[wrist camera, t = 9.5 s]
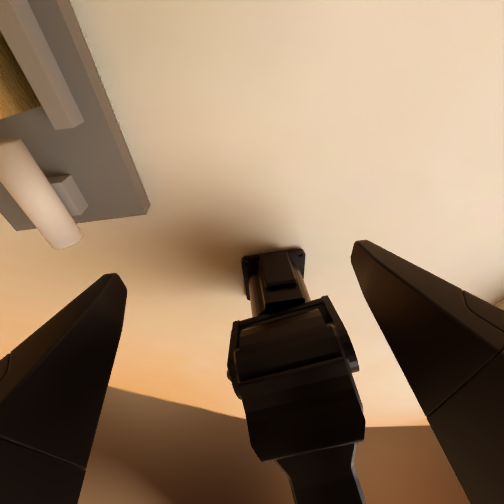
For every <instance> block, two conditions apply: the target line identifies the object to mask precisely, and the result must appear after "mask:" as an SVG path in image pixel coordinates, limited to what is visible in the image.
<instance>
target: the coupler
mask: <svg viewBox="0 0 504 504" xmlns="http://www.w3.org/2000/svg"><path fill="white" fill-rule="evenodd" d="M40 106H42V105H41V103H40V101H39V100H38V98H37V96H36V94H35V92H34V91H33V89H32V87H31V85H30V83H29V81H28V80H27V78H26V76H25V74H24V72H23V71H22V69H21V67H20V65H19V63H18V62H17V60H16V58H15V56H14V54H13V53H12V51H11V49H10V47H9V45H8V44H7V42H6V40H5V38H4V36H3V35H2V33H1V31H0V119H3V118H6V117H9V116H12V115H15V114H18V113H21V112H24V111H27V110H30V109H34V108H37V107H40Z"/></svg>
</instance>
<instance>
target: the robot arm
mask: <svg viewBox="0 0 504 504" xmlns="http://www.w3.org/2000/svg"><path fill="white" fill-rule="evenodd" d="M300 253H301V254H300ZM298 254H300V255H298ZM245 261H247V262H245ZM241 263H242V270H243V276H244V283H245V289H246V296H247V299H248V300H250V301H251V309H252V318H249V319H245V320H242V321H239V320H238V321H234V322H233V327H232V331H231V338H230V346H229V354H228V362H227V367H228V370H227V377H228V379H229V380H230V381H231V382H232V386H233V389H234V391H235V393H236V395H237V397H238V398H239V399H240V400H242V402H243V406H244V410H245V414H246V419H247V425H248V431H249V437H250V443H251V446H252V448H253V450H254V451H255V453H256V454H257V456H258V457H259V459H260V460H261V461H262V462H266V461H271V460H274V461H275V463H276V464H277V465H278V466H279V467H280V468H281V470H282V471H283V472H284V473H285V474H286V475H287V477H288V479H289V483H290V486H291V490H292V494H293V498H294V503H295V504H366V501H365V498H364V495H363V492H362V488H361V485H360V482H359V479H358V476H357V473H356V470H355V467H354V459H355V454H356V449H357V443H358V442H362V441H363V440H364V433H365V418H364V415H363V406H362V403H361V400H360V397H359V394H358V391H357V388H356V385H355V382H354V379H353V376H352V373H353V372H357V371H359V365H358V361H357V357H356V354H355V351H354V348H353V345H352V343H351V340H350V338H349V335H348V333H347V331H346V329H345V327H344V325H343V323H342V321H341V319H340V317H339V316H338V314H337V312H336V310H335V308H334V306H333V305H332V303H331V301H330V299H329V297H328V295H326V296H323V297H321V298H319V299H316V300H312V301H311V300H310V297H309V294H308V291H307V289H306V286H305V283H304V280H303V279H304V265H305V252H304V250H302V249H296V250H289V251H281V252H274V253H266V254H259V255H251V256H245V257H243V258H242V259H241ZM351 263H352V266H353V269H354V271H355V274H356V277H357V279H358V282H359V285H360V287H361V290H362V293H363V295H364V297H365V299H366V301H367V303H368V305H369V307H370V309H371V311H372V313H373V315H374V317H375V319H376V321H377V323H378V325H379V327H380V329H381V330H382V332H383V334H384V336H385V338H386V340H387V342H388V344H389V346H390V348H391V350H392V352H393V354H394V356H395V358H396V360H397V361H398V363H399V365H400V367H401V369H402V371H403V373H404V375H405V377H406V379H407V381H408V383H409V385H410V387H411V389H412V390H413V392H414V394H415V396H416V398H417V400H418V402H419V404H420V406H421V408H422V410H423V412H424V414H425V416H426V417H427V420H428V422H429V424H430V426H431V428H432V430H433V431H434V433H435V435H436V437H437V439H438V441H439V443H440V445H441V447H442V449H443V451H444V453H445V455H446V456H447V459H448V460H449V462H450V464H451V466H452V468H453V470H454V472H455V474H456V476H457V478H458V480H459V482H460V484H461V486H462V488H463V490H464V491H465V493H466V495H467V497H468V499H469V501H470V503H471V504H504V310H502V309H500V308H498V307H496V306H494V305H492V304H490V303H488V302H486V301H484V300H482V299H480V298H478V297H476V296H474V295H472V294H470V293H468V292H466V291H464V290H463V291H462V289H460V288H459V287H457V286H455V285H453V284H451V283H449V282H447V281H445V280H443V279H441V278H439V277H437V276H435V275H434V274H432V273H430V272H428V271H426V270H424V269H422V268H420V267H418V266H416V265H414V264H412V263H410V262H408V261H407V260H405V259H403V258H401V257H399V256H397V255H395V254H393V253H391V252H389V251H387V250H385V249H383V248H382V247H380V246H378V245H376V244H374V243H372V242H370V241H368V240H360V241H356V242H355V243H354V246H353V250H352V254H351ZM126 298H127V288H126V286H125V285H124V283H123V281H122V280H121V278H120V277H119V275H118V274H117V273H110V274H105V275H103V276H102V277H101V278H99V279H98V280H97V281H96V282H95V283H93V284H92V285H91V286H90V287H88V288H87V289H86V290H85V291H84V292H82V293H81V294H80V295H79V296H78V297H76V298H75V299H74V300H73V301H72V302H70V303H69V304H68V305H67V306H65V307H64V308H63V309H62V310H61V311H59V312H58V313H57V314H56V315H55V316H53V317H52V318H51V319H50V320H49V321H47V322H46V323H45V324H44V325H42V326H41V327H40V328H39V329H38V330H36V331H35V332H34V333H33V334H32V335H30V336H29V337H28V338H27V339H26V340H24V341H23V342H22V343H21V344H19V345H18V346H17V347H16V348H15V349H13V350H12V351H11V353H10V354H7V355H6V356H5V357H4V358H3V359H1V360H0V504H77V503H78V499H79V496H80V491H81V488H82V484H83V480H84V476H85V472H86V467H87V463H88V460H89V456H90V452H91V448H92V445H93V441H94V437H95V433H96V429H97V425H98V421H99V418H100V414H101V410H102V406H103V402H104V398H105V394H106V390H107V387H108V383H109V379H110V375H111V371H112V367H113V363H114V360H115V356H116V352H117V348H118V344H119V340H120V336H121V332H122V327H123V320H124V313H125V306H126Z"/></svg>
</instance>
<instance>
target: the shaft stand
mask: <svg viewBox="0 0 504 504" xmlns="http://www.w3.org/2000/svg"><path fill="white" fill-rule="evenodd" d="M0 31H1V33H2V35H3V36H4V38H5V40H6V42H7V44H8V45H9V47H10V49H11V51H12V53H13V54H14V56H15V58H16V60H17V62H18V63H19V65H20V67H21V69H22V71H23V72H24V74H25V76H26V78H27V80H28V81H29V83H30V85H31V87H32V89H33V91H34V92H35V94H36V96H37V98H38V100H39V101H40V103H41V105H42V106H40V107H37V108H34V109H30V110H27V111H24V112H21V113H18V114H15V115H12V116H9V117H6V118H3V119H0V213H1V214H2V215H3V216H4V217H5V218H6V220H7V221H8V222H9V223H10V224H11V225H12V227H13V228H14V229H15V230H16V231H19V230H27V229H35V228H37V229H38V230H39V232H40V233H41V234H42V235H43V237H44V238H45V239H46V240H47V242H48V243H49V244H50V246H51V247H52V248H53V249H64V248H67V247H70V246H72V245H74V244H76V243H78V242H79V241H80V240H81V239H82V238H83V234H82V232H81V230H80V229H79V227H78V226H77V224H76V223H82V222H90V221H98V220H106V219H113V218H121V217H129V216H137V215H145V214H147V211H148V209H149V207H150V203H149V200H148V198H147V195H146V193H145V190H144V188H143V185H142V183H141V180H140V178H139V175H138V173H137V170H136V168H135V165H134V162H133V160H132V157H131V155H130V152H129V150H128V147H127V145H126V142H125V140H124V137H123V135H122V132H121V130H120V127H119V125H118V122H117V119H116V117H115V114H114V112H113V109H112V107H111V104H110V102H109V99H108V97H107V94H106V92H105V89H104V87H103V84H102V82H101V79H100V76H99V74H98V71H97V69H96V66H95V64H94V61H93V59H92V56H91V54H90V51H89V49H88V46H87V44H86V41H85V39H84V36H83V34H82V31H81V28H80V26H79V23H78V21H77V18H76V16H75V13H74V11H73V8H72V6H71V3H70V1H69V0H0Z"/></svg>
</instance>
